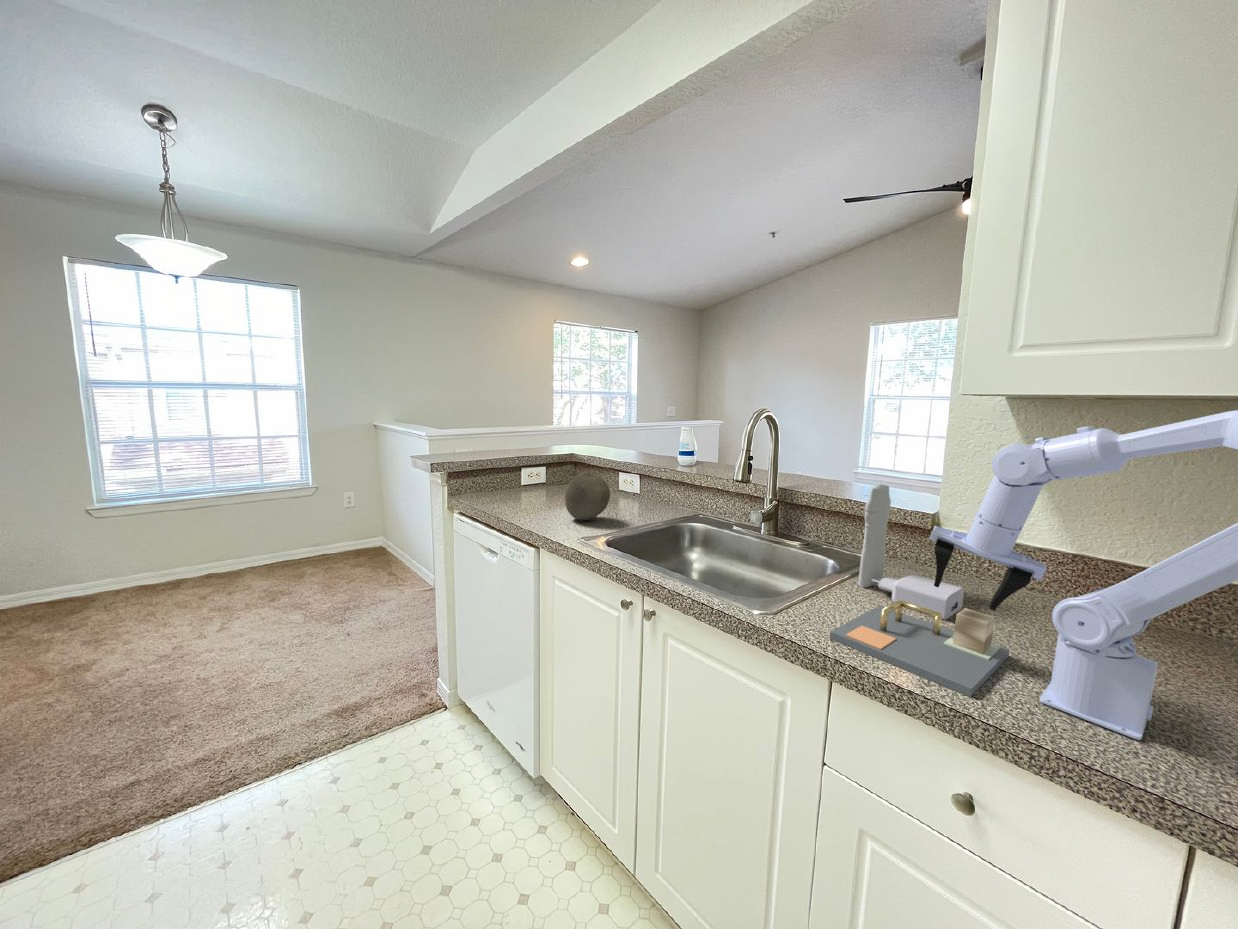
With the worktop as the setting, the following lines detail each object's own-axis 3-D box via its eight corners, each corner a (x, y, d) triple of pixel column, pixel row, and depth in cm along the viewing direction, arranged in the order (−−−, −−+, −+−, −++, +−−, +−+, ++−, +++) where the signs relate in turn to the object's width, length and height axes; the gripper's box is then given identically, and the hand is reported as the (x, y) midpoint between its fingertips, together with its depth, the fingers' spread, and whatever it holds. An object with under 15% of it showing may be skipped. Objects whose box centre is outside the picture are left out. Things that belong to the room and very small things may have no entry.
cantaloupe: (567, 526, 148) (568, 477, 146) (561, 515, 161) (562, 470, 159) (613, 525, 151) (614, 477, 149) (603, 514, 165) (604, 470, 163)
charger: (882, 585, 107) (962, 609, 96) (862, 595, 102) (943, 622, 90) (885, 564, 107) (965, 586, 95) (864, 573, 101) (946, 597, 89)
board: (1008, 656, 78) (1009, 648, 78) (970, 697, 67) (971, 687, 66) (878, 611, 93) (879, 604, 93) (829, 638, 82) (830, 630, 82)
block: (990, 646, 78) (994, 616, 77) (982, 654, 75) (986, 623, 75) (961, 636, 81) (965, 608, 80) (952, 643, 78) (956, 614, 78)
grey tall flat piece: (869, 591, 103) (879, 488, 100) (850, 585, 106) (859, 485, 103) (890, 580, 110) (900, 483, 107) (871, 574, 113) (881, 480, 110)
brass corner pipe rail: (940, 634, 82) (943, 612, 81) (924, 646, 78) (926, 624, 77) (896, 619, 87) (898, 598, 87) (878, 629, 83) (880, 608, 83)
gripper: (1058, 531, 72) (1019, 606, 77) (947, 496, 80) (917, 566, 85) (1061, 547, 67) (1018, 627, 72) (941, 507, 75) (910, 582, 80)
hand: (963, 595), depth 78 cm, fingers open, 7 cm apart
